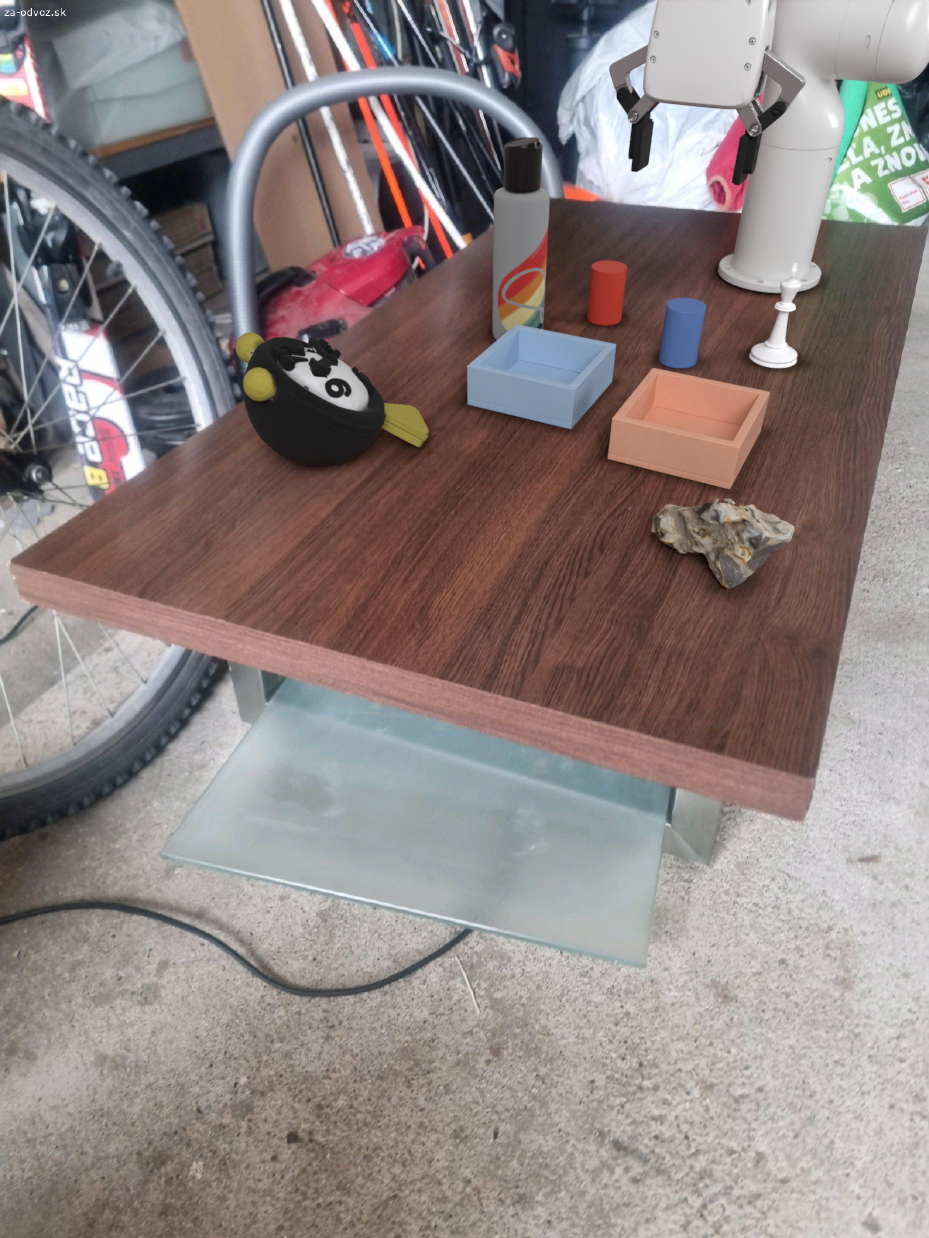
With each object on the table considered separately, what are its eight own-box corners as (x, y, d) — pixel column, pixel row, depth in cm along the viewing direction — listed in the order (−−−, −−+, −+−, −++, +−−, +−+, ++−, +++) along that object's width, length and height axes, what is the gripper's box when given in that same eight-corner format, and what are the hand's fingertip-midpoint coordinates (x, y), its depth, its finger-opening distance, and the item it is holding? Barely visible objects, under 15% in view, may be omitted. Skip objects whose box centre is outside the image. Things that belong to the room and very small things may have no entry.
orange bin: (647, 406, 85) (652, 367, 82) (760, 432, 81) (770, 391, 78) (607, 459, 78) (611, 418, 75) (729, 490, 74) (739, 447, 71)
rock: (617, 566, 63) (739, 531, 56) (627, 483, 66) (745, 440, 59) (686, 613, 68) (807, 586, 61) (693, 534, 71) (809, 500, 64)
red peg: (594, 309, 103) (598, 258, 99) (626, 315, 102) (632, 263, 98) (581, 321, 101) (586, 269, 97) (614, 328, 99) (620, 275, 95)
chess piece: (797, 352, 94) (822, 257, 87) (795, 371, 90) (820, 274, 84) (751, 346, 95) (771, 252, 88) (747, 364, 92) (768, 269, 85)
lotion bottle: (538, 348, 95) (548, 146, 82) (488, 344, 96) (489, 144, 83) (545, 327, 99) (556, 132, 86) (496, 324, 100) (500, 130, 87)
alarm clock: (391, 525, 77) (327, 417, 64) (262, 486, 82) (179, 380, 69) (448, 422, 80) (399, 300, 67) (321, 392, 86) (253, 274, 73)
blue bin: (514, 361, 93) (515, 323, 90) (612, 382, 89) (616, 343, 86) (467, 404, 85) (466, 365, 83) (571, 429, 82) (574, 389, 79)
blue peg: (665, 349, 95) (673, 295, 91) (700, 356, 93) (710, 301, 89) (653, 364, 92) (661, 308, 88) (690, 371, 91) (700, 315, 87)
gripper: (843, -55, 69) (790, 177, 81) (638, -60, 76) (615, 156, 87) (825, -49, 64) (771, 197, 76) (607, -56, 71) (587, 173, 82)
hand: (688, 175), depth 81 cm, fingers open, 9 cm apart
